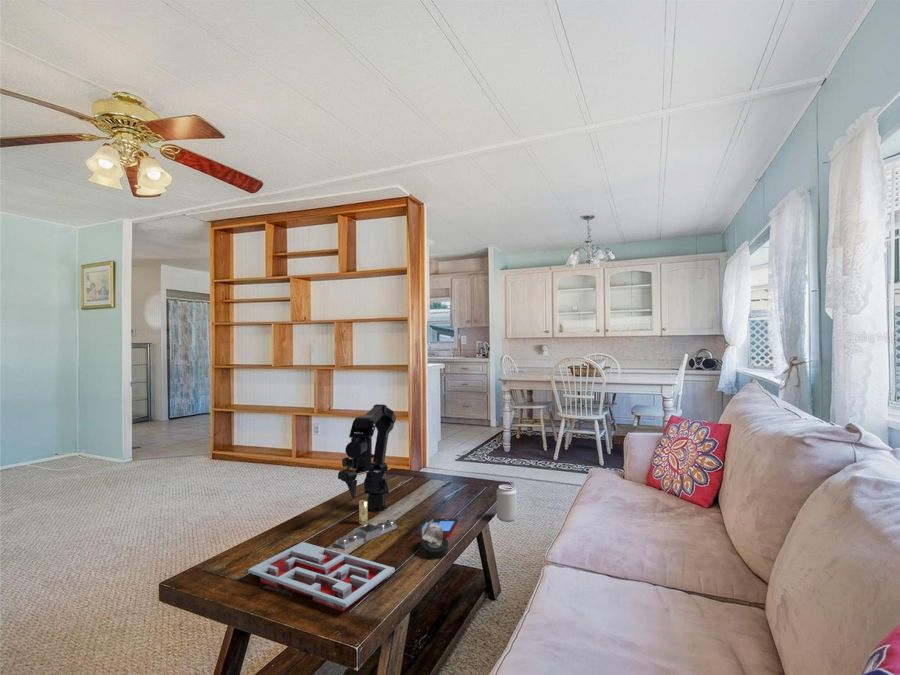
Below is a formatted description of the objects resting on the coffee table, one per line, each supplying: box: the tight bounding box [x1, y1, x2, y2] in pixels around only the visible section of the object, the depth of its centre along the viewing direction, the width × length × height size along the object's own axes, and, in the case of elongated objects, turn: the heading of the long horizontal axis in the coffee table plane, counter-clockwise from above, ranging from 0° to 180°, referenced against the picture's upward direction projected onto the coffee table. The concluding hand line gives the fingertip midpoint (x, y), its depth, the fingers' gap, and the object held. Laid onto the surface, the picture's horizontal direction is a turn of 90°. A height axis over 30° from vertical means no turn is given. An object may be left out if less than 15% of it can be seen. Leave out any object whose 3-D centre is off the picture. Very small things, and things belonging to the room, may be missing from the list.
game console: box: [414, 517, 459, 540], centre depth 155 cm, size 14×13×2 cm
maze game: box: [247, 541, 396, 613], centre depth 121 cm, size 35×20×3 cm, turn 62°
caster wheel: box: [420, 520, 449, 560], centre depth 139 cm, size 7×11×10 cm
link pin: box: [358, 499, 369, 526], centre depth 161 cm, size 3×3×8 cm
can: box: [496, 484, 518, 523], centre depth 165 cm, size 8×8×12 cm
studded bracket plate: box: [335, 519, 398, 550], centre depth 149 cm, size 23×6×2 cm, turn 139°
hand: (363, 494), depth 161 cm, fingers open, 9 cm apart
